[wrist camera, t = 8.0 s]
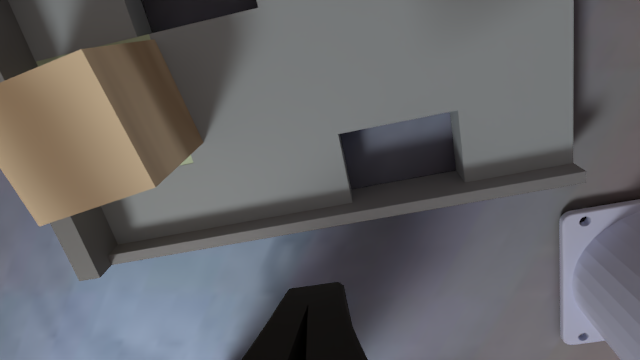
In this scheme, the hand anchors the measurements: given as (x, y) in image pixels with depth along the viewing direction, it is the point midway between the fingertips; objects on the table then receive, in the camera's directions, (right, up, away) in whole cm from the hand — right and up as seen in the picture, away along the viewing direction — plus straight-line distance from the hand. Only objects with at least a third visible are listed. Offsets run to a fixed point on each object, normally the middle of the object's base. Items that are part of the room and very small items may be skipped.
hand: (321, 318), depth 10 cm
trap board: (-1, +8, +8) cm, 11 cm away
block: (-8, +6, +7) cm, 13 cm away
